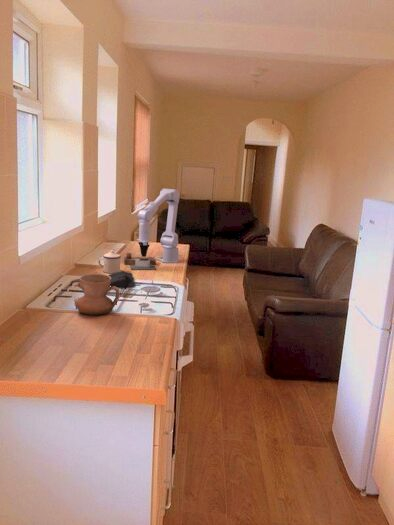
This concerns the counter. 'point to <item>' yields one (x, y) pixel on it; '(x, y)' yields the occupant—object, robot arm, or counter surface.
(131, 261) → the body
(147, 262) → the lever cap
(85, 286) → the ceramic jug
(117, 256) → the teacup with lid
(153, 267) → the rubber mat
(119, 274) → the dark slate chunk
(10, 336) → the counter surface
